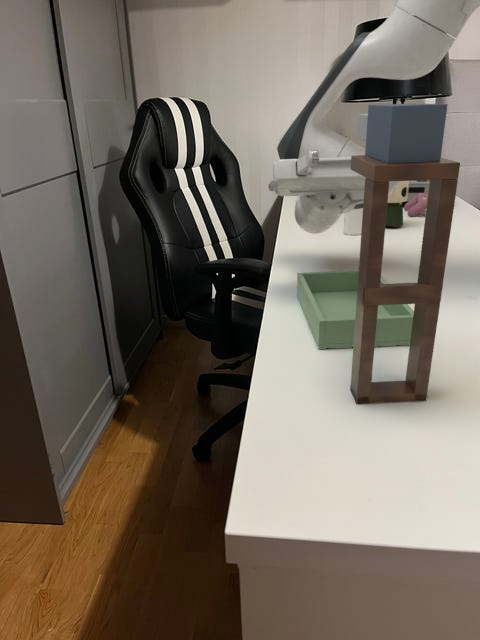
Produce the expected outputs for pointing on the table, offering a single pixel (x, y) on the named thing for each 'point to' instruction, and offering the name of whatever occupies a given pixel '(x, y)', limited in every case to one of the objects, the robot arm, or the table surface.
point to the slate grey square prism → (403, 132)
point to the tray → (347, 311)
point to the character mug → (396, 204)
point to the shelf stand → (419, 293)
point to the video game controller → (417, 205)
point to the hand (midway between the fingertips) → (346, 154)
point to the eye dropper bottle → (353, 222)
